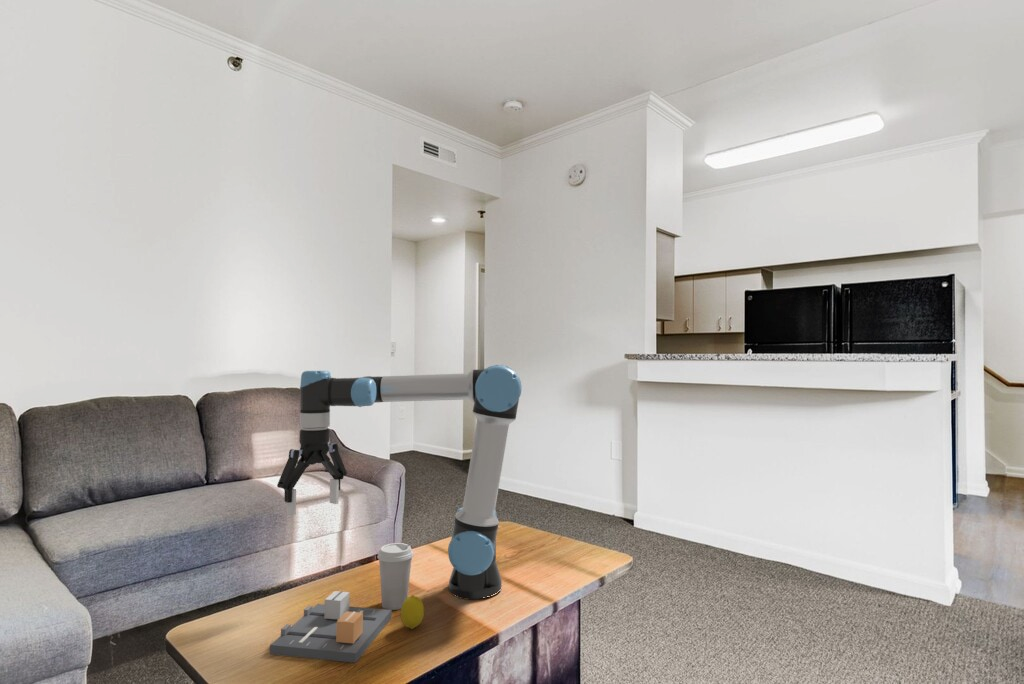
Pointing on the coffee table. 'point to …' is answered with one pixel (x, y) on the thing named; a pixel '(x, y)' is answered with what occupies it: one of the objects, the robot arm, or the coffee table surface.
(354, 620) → the fader orange
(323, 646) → the console
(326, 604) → the fader grey
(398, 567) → the coffee cup
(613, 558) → the coffee table surface
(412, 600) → the lemon
